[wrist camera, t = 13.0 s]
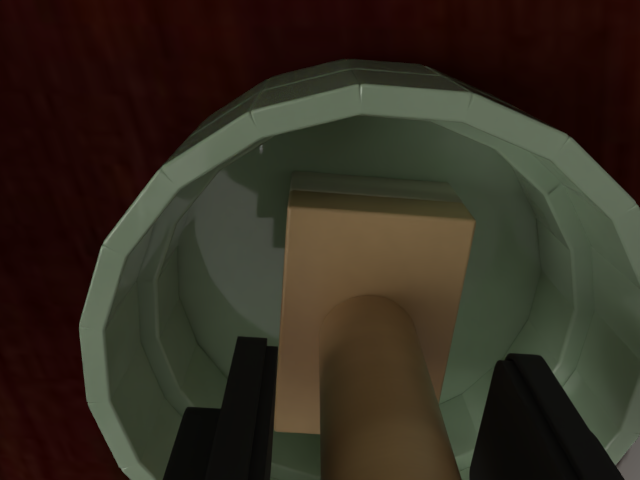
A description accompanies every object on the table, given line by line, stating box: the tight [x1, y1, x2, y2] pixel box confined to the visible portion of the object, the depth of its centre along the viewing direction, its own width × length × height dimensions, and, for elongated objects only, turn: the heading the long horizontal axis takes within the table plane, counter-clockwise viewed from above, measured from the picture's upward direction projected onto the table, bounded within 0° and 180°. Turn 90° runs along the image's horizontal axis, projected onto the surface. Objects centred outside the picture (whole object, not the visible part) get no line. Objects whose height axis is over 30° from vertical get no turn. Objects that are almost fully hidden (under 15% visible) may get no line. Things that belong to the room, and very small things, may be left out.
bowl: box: [79, 59, 640, 480], centre depth 13 cm, size 12×12×5 cm
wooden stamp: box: [274, 171, 476, 480], centre depth 10 cm, size 6×4×11 cm, turn 175°
